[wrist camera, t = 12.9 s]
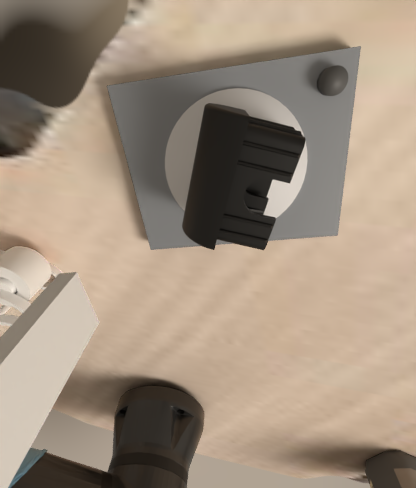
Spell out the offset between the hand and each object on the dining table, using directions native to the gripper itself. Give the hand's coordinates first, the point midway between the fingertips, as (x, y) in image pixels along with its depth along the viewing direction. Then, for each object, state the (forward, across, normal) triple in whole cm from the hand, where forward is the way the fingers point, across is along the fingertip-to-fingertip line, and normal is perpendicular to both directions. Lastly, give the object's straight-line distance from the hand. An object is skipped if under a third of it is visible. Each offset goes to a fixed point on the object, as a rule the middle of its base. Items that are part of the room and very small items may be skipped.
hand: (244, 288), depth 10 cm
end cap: (+17, 0, 0) cm, 17 cm away
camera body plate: (+19, 0, 0) cm, 19 cm away
